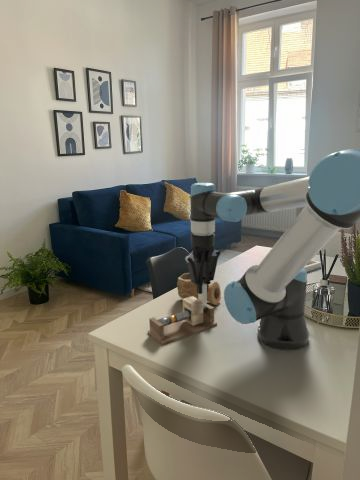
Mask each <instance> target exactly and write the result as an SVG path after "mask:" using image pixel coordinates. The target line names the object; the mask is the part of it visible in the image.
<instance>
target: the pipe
mask: <svg viewBox="0 0 360 480" xmlns="http://www.w3.org/2000/svg"><path fill="white" fill-rule="evenodd" d="M176 287H177V294H178V296H179V297H180V298H181V299H182V300H183V299H184V298H187V297H191V296H193V297H195V298H197V299H198V293H197V285H196V284H194V283H192V282H191V278H190V274H189V272H186V273H183V274H181V275H180V276H179V277H177V283H176ZM221 295H222V293H221V286H220V284H219V282H218V281H214V282H211V283H210V284H209V286H208V292H207V303H210V304H212V305H215V306H216V305H218V304H219V303H220V302H221V298H222V296H221Z"/></svg>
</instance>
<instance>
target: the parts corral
mask: <svg viewBox="0 0 360 480" xmlns="http://www.w3.org/2000/svg"><path fill="white" fill-rule="evenodd" d="M321 267H322V262H321V261H317V260H314V259H311V260H310V262H309V263H308V264H307V265H306V266H305V267H304V269H305V270H306V272H307V273H308V272H312V271H314V270H318V269H320V268H321Z"/></svg>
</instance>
